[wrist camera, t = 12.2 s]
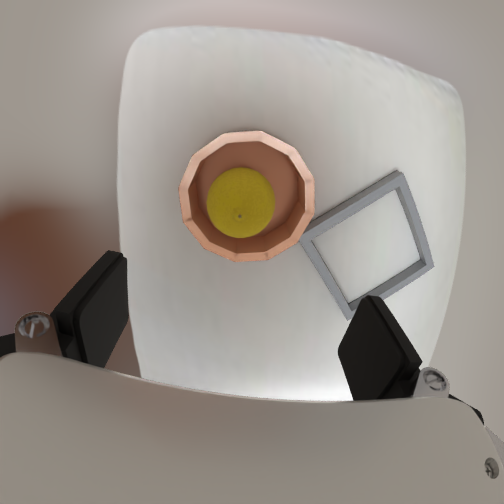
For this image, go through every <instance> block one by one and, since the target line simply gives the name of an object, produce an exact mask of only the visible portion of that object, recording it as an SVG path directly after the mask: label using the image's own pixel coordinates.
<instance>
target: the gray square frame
mask: <svg viewBox="0 0 504 504" xmlns="http://www.w3.org/2000/svg"><path fill="white" fill-rule="evenodd" d="M394 189H396V191H397V194H398V196H399V198H400V201H401V203H402V206H403V209H404V211H405V214H406V217H407V219H408V222H409V225H410V228H411V231H412V233H413V236H414V239H415V242H416V245H417V249H418V252H419V255H420V258H421V260H419V261H418V262H416V263H415V264H413V265H412V266H410V267H409V268H407V269H406V270H404V271H403V272H401V273H399V274H398V275H396V276H395V277H393V278H391V279H390V280H388V281H387V282H385V283H383V284H382V285H380V286H379V287H377V288H375V289H374V290H372V291H370V292H369V293H367V294H365V295H363V296H362V297H360V298H358V299H357V300H355V301H353V302H351V303H350V304H348V303H347V301H346V300H345V298H344V296H343V294H342V292H341V291H340V289H339V287H338V285H337V284H336V282H335V280H334V278H333V277H332V275H331V273H330V271H329V270H328V268H327V266H326V265H325V263H324V261H323V260H322V258H321V256H320V254H319V253H318V251H317V249H316V248H315V246H314V244H313V243H312V241H311V240H312V239H313V238H315V237H317V236H318V235H320V234H322V233H323V232H325V231H327V230H328V229H330V228H332V227H333V226H335V225H337V224H338V223H340V222H342V221H343V220H345V219H347V218H348V217H350V216H352V215H353V214H355V213H357V212H358V211H360V210H361V209H363V208H365V207H366V206H368V205H370V204H371V203H373V202H375V201H376V200H378V199H379V198H381V197H383V196H384V195H386V194H387V193H389V192H391V191H392V190H394ZM299 242H300V243H301V245H302V247H303V248H304V250H305V251H306V253H307V254H308V256H309V258H310V259H311V261H312V263H313V264H314V266H315V267H316V269H317V271H318V272H319V274H320V276H321V277H322V279H323V280H324V282H325V284H326V285H327V287H328V289H329V290H330V292H331V294H332V295H333V297H334V299H335V300H336V302H337V304H338V306H339V307H340V309H341V311H342V312H343V314H344V316H345V318H346V319H347V321H348V320H349V319H351V318H353V316H354V314H355V312H356V309H357V307H358V305H359V303H360V301H361V299H362V298H365V297H366V296H367V295H372V296H379V297H381V298H382V300H384V299H386V298H387V297H389V296H390V295H392V294H394V293H395V292H397V291H398V290H400V289H402V288H403V287H405V286H406V285H408V284H409V283H411V282H412V281H414V280H416V279H417V278H419V277H420V276H422V275H423V274H424V273H426V272H427V271H429V270H430V269H432V268H433V267H434V264H433V260H432V256H431V252H430V249H429V245H428V242H427V238H426V235H425V232H424V229H423V226H422V222H421V219H420V216H419V214H418V211H417V208H416V205H415V202H414V199H413V197H412V194H411V191H410V189H409V186H408V184H407V181H406V179H405V176H404V174H403V173H402V172H399V171H395V172H393V173H392V174H390V175H388V176H387V177H385V178H383V179H382V180H380V181H378V182H377V183H375V184H373V185H372V186H370V187H369V188H367V189H365V190H364V191H362V192H360V193H359V194H357V195H355V196H354V197H352V198H350V199H349V200H347V201H345V202H344V203H342V204H340V205H339V206H337V207H335V208H334V209H332V210H330V211H329V212H327V213H325V214H324V215H322V216H321V217H319V218H317V219H316V220H314V221H312V222H311V223H309V224H308V225H307V227H306V229H305V230H304V232H303V234H302V235H301V237H300V239H299Z"/></svg>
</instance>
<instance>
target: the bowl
mask: <svg viewBox="0 0 504 504" xmlns="http://www.w3.org/2000/svg"><path fill="white" fill-rule="evenodd" d="M239 167H244V168H250V169H253V170H255V171H258V172H259V173H260V174H262V175H263V176H265V178H266V179H267V180H268V181H269V182H270V184H271V186H272V188H273V191H274V195H275V210H274V213H273V216H272V218H271V220H270V222H269V223H268V225H267V226H266V227H265V228H264V229H263V230H262V231H260V232H259V233H257V234H255V235H253V236H250V237H246V238H235V237H231V236H228V235H226V234H224V233H222V232H221V231H220V230H218V229H217V228H216V227H215V225H214V224H213V223H212V221H211V219H210V217H209V214H208V211H207V203H206V202H207V195H208V191H209V189H210V187H211V184H212V183H213V182H214V181H215V179H216V178H217V177H218V176H219V175H221V174H222V173H223V172H225V171H227V170H230V169H232V168H239ZM178 190H179V197H180V205H181V211H182V218H183V223H184V224H185V225H186V226H187V228H188V229H189V230H190V232H191V233H192V234H193V235H194V237H195V238H196V239H197V240H198V242H199V243H200V244H201V246H202V247H203V248H204V249H206V250H208V251H211V252H213V253H215V254H218V255H220V256H222V257H224V258H227V259H229V260H231V261H234V262H242V261H259V260H269V259H271V258H272V257H274V256H276V255H277V254H279V253H281V252H282V251H284V250H286V249H288V248H289V247H291V246H293V245H294V244H296V243H297V242H298V240H299V239H300V237H301V235H302V234H303V232H304V230H305V229H306V227H307V225H308V224H309V222H310V220H311V219H312V217H313V215H314V178H313V176H312V174H311V173H310V171H309V169H308V168H307V166H306V164H305V163H304V161H303V159H302V158H301V156H300V155H299V153H298V151H297V150H296V148H294V147H292V146H290V145H288V144H286V143H285V142H283V141H281V140H279V139H277V138H275V137H273V136H271V135H269V134H267V133H265V132H263V131H260V130H254V131H238V132H227V133H224V134H222V135H220V136H219V137H218V138H216V139H215V140H213V141H212V142H210V143H209V144H207V145H206V146H205V147H203V148H202V149H200V150H199V151H198V152H196V153H195V154H193V155H192V157H191V160H190V162H189V164H188V166H187V169H186V171H185V173H184V176H183V178H182V180H181V183H180V185H179V188H178Z"/></svg>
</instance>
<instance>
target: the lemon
mask: <svg viewBox="0 0 504 504" xmlns="http://www.w3.org/2000/svg"><path fill="white" fill-rule="evenodd" d="M206 203H207V211H208V214H209V217H210V219H211V221H212V223H213V224H214V225H215V227H216V228H217V229H218V230H220V231H221V232H222V233H224V234H226V235H228V236H231V237H235V238H246V237H250V236H253V235H255V234H257V233H259V232H260V231H262V230H263V229H264V228H265V227H266V226H267V225H268V223H269V222H270V220H271V218H272V216H273V213H274V210H275V195H274V191H273V188H272V186H271V184H270V182H269V181H268V180H267V179H266V178H265V176H263V175H262V174H260V173H259V172H258V171H255V170H253V169H250V168H244V167H239V168H232V169H230V170H227V171H225V172H223V173H222V174H221V175H219V176H218V177H217V178H216V179H215V181H214V182H213V183H212V184H211V187H210V189H209V191H208V195H207V202H206Z"/></svg>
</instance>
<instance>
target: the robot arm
mask: <svg viewBox="0 0 504 504" xmlns="http://www.w3.org/2000/svg"><path fill="white" fill-rule="evenodd" d="M128 316H129V312H128V288H127V258H125V257H123V254H122V253H119V252H115V251H109V250H108V251H107V252H106V253H105V254H104V255H103V256H102V257H101V258H100V259H99V260H98V261H97V262H96V263H95V264H94V265H93V266H92V267H91V269H89V271H88V272H87V273H86V274H85V275H84V276H83V277H82V278H81V279H80V280H79V281H78V282H77V283H76V285H75V286H74V287H73V288H72V289H71V290H70V291H69V292H68V293H67V295H66V296H65V297H64V298H63V299H62V300H61V302H60V303H59V304H58V305H57V306H56V307H55V309H54V310H53V312H52V313H51V314H50V315H48V314H46V313H44V312H30V313H27V314H25V315H23V316H22V317H21V318H20V319H19V320H18V321H17V323H16V325H15V333H13V334H9V335H5V336H1V337H0V504H504V442H502V441H501V440H500V439H499V438H498V437H497V436H496V435H495V434H494V433H493V432H492V431H491V430H490V429H489V428H488V427H484V422H483V418H482V415H481V413H480V412H479V411H478V410H477V409H475V408H473V407H471V406H469V405H468V404H466V403H464V402H462V401H461V400H459V399H457V398H455V397H454V396H452V395H450V394H449V388H450V387H449V382H448V380H447V378H446V377H445V375H444V374H442V373H441V372H440V371H438V370H437V369H434V368H430V367H426V368H423V369H422V370H421V371H420V369H419V366H420V365H421V363H422V360H421V358H420V357H419V355H418V353H417V352H416V350H415V349H414V347H413V345H412V344H411V342H410V341H409V339H408V337H407V336H406V334H405V333H404V331H403V330H402V328H401V327H400V325H399V324H398V322H397V320H396V319H395V317H394V316H393V314H392V313H391V311H390V310H389V308H388V307H387V306H386V304H385V303H384V301H383V300H382V298H381V297H379V296H372V295H367V296H366V297H365V298H362V299H361V301H360V303H359V305H358V307H357V309H356V312H355V314H354V316H353V318H352V320H351V322H350V324H349V327H348V329H347V331H346V333H345V335H344V337H343V339H342V341H341V343H340V345H339V347H338V356H339V359H340V361H341V364H342V367H343V370H344V373H345V376H346V379H347V382H348V385H349V388H350V391H351V394H352V397H353V400H354V401H305V400H284V399H269V398H258V397H248V396H239V395H230V394H223V393H216V392H209V391H202V390H196V389H191V388H185V387H180V386H174V385H169V384H165V383H160V382H155V381H151V380H147V379H143V378H138V377H134V376H130V375H126V374H122V373H119V372H115V371H111V370H108V369H104V367H105V365H106V363H107V361H108V359H109V357H110V355H111V353H112V351H113V349H114V347H115V345H116V343H117V341H118V339H119V337H120V335H121V333H122V331H123V329H124V327H125V326H126V324H127V321H128Z"/></svg>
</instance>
